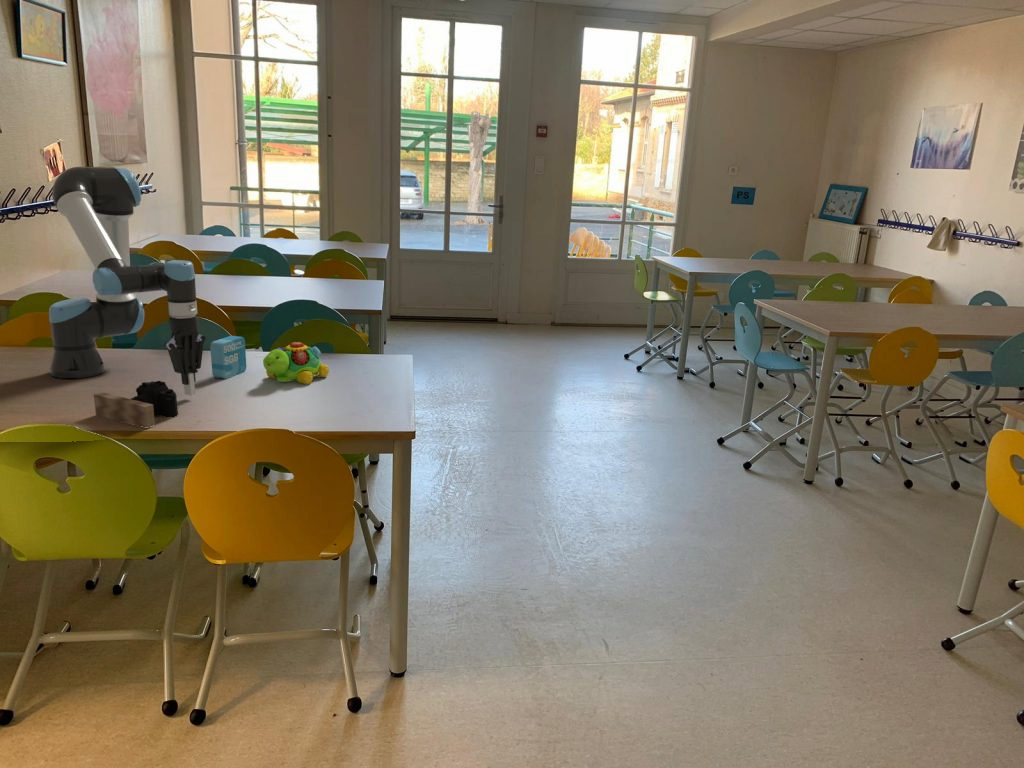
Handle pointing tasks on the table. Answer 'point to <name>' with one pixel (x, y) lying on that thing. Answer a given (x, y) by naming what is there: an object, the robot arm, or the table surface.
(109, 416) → the stone brick
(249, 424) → the table surface
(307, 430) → the table surface
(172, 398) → the film camera
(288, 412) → the table surface
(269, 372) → the turtle toy
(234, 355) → the data package
